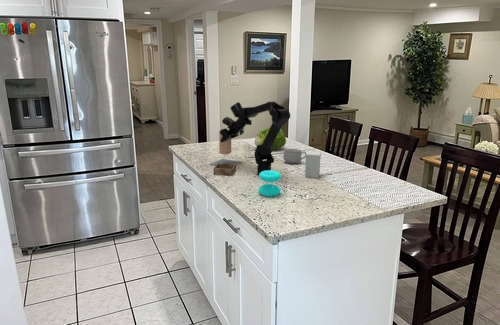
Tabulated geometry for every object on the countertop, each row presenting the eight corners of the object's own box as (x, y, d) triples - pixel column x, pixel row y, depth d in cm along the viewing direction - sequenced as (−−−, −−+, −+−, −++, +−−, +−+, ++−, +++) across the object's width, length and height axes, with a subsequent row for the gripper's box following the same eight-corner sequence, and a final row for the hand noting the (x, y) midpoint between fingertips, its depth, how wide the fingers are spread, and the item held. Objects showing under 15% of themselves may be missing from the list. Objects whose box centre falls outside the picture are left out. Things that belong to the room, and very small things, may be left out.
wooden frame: (235, 170, 208) (236, 164, 207) (232, 175, 198) (232, 169, 197) (217, 169, 209) (217, 163, 209) (213, 174, 200) (213, 168, 199)
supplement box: (319, 174, 203) (321, 151, 199) (318, 178, 196) (320, 155, 192) (306, 173, 205) (307, 150, 201) (304, 177, 198) (305, 154, 194)
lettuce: (253, 150, 263) (248, 131, 256) (279, 139, 268) (275, 120, 261) (263, 159, 250) (258, 140, 242) (290, 147, 255) (286, 128, 247)
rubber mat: (242, 162, 223) (242, 161, 223) (229, 168, 212) (229, 167, 212) (222, 159, 230) (222, 158, 230) (209, 164, 218) (209, 164, 218)
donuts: (276, 169, 177) (284, 175, 167) (275, 189, 179) (283, 196, 170) (256, 170, 174) (262, 176, 165) (255, 190, 177) (262, 198, 168)
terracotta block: (231, 152, 220) (231, 130, 216) (226, 154, 215) (226, 132, 212) (224, 151, 222) (223, 130, 218) (219, 153, 218) (219, 131, 214)
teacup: (280, 163, 223) (280, 150, 221) (287, 159, 232) (287, 146, 230) (302, 166, 217) (302, 153, 215) (308, 162, 226) (309, 149, 224)
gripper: (239, 110, 218) (223, 127, 226) (222, 114, 202) (205, 132, 210) (251, 125, 217) (234, 142, 225) (234, 130, 201) (217, 148, 209)
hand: (223, 140), depth 217 cm, fingers closed on terracotta block, 5 cm apart
